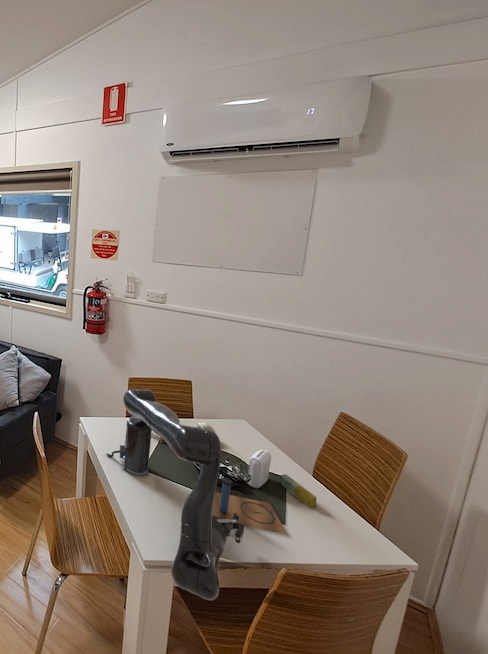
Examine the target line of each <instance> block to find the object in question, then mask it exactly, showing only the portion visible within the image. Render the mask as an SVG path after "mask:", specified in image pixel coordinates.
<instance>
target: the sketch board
mask: <svg viewBox="0 0 488 654" xmlns="http://www.w3.org/2000/svg"><path fill="white" fill-rule="evenodd" d="M246 496H248V497H249V498H247V497H242V496H238V495H233V494H230V497H229V504H228V511H227V513H226V514H224V513H222V512H220V509H219V506H220V499H221V492H219V491H215V497H214V502H213V509H212V511H213V513H214V516H215V517H218V518H221V519H229V520H232V518H233V515H234V513H236V514H237V516H239V522H238V523H239V524H243V525H244V527H249V528H252V529H253V528H254V529H258V530H262V531H268V532H271V533H275V534H280V535H284V536H288V535H289V534H288V532H287V530H286V529H285V527H284V525H283V523H282V522H281V520H280V518H279V516H278V515H277V513H276V511H275V509H274V507H273V506H272V504H271V503H270V502H268V501H262V500H257V499H254V498H252V497H251V496H250V495H249V494H246ZM243 502H253V503H257V504H259V505H261V506H263V507H265V508H266V509H268V510H269V511H270V512H271V513H272V514H273V516H274V518H275V520H274V523H271V524H263V523H269V522H272V521H273V517H272V515H271V513H270V512H269V511H267V510H266V509H265V508H263V507H261V506H259V505H257V504H253V503H244V504H243V505H242V509H243V511H244V513H246V514H247V515H248V516H249V517H250V518H252V519H254V520H256V521H258V522H263V523H258V522H256V521H254V520H252V519H250V518H249V517H248V516H246V515H245V514H244V513H243V512H242V510H241V508H240V506H241V504H242V503H243Z"/></svg>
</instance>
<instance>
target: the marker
mask: <svg viewBox="0 0 488 654" xmlns="http://www.w3.org/2000/svg"><path fill="white" fill-rule="evenodd" d="M232 483H233V481H232V479H230V478H228V477H223V478H222V484H221V492H220V493H221V499H220V506H219V509H220V512H222V513H224V514H226V513H227V511H228V504H229V497H230V495H231V488H232Z"/></svg>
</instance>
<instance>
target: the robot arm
mask: <svg viewBox="0 0 488 654" xmlns="http://www.w3.org/2000/svg"><path fill="white" fill-rule="evenodd" d="M122 400H123V405H124V407H125V409H126V411H127V412H128V413H129V414H130V415H132V416H130V417H128V418H127V420H126V426H125V427H126V428H125V439H124V442H123V443H124V445H122V444H119V450H114V451H112V452H111V454H110V453H106V456H107V457H109V458H112V457H114V454H119V459H122V466H123V471H126V472H128V473H130V474H132V475H135V476H145V475H147V474H148V473H149V465H150V461H151V460H150V452H151V443H152V442H151V441H152V432H153V433H155V434H156V435H157V436H158V437H159V438H160V437H161V438H162V439H163V440H162V441H163V442H165V444H166V445H167V446H168V448H169V450H171V451H172V453H173V454H174V455H175V456H176V457H177V458H178V459H180V460H181V461H184V462H186V463H187V462H188V463H193V464H198V465H200V473H199V476H198V480H197V481H196V483H195V485H194V486H193V489H191V491H190V493H189V494H188V496H187V498H186V499H185V501H184V503H183V505H182V509H181V512H180V513H181V514H180V536H179V543H178V547H177V551H176V553H175V556H174V558H173V561H172V565H171V570H170V571H171V578H172V579H173V582H174V583H175V585H176V586H177V587H178V588H180V589H182V590H184V591H187V592H189V593H191V594H193V595H196V596H198V597H200V598H202V599H204V600H207V601H214V600H216V599H217V598H218V596H219V593H220V581H219V576H218V575H219V574H218V564H219V560H220V557H221V556H222V554H223V553H224V550H225V549H224V548H225V545H226V541H227V538H228V537H230V538H233V539H234V541H235V543H237V544H240V543H241V541H242V538H243V536H244V533H245V526H244V525H243V524H239V523H238V522H239V516H237V514H236V513H234V515H233V518H232V520H229V519H221V518H218V517H216V516H215V514H213V502H214V497H215V492H217V487H218V486H217V485H218V480H219V473H220V467H221V464H222V463H221V461H222V443H221V439H220V437H219V435H218V434H217V433H216V431H215V432H213V431H211V430H208V429H203V428H196V426H191V425H184V424H181V422H180V419H179V416H178V415H177V413H176V412H175V411H174V410H172V409H171V408H169V407H168V406H166V405H165V404H163V403H160V402H157V401H156V400H157V399H156V396H155V393H154V392H153V391H152V390H151V389H135V388H133V389H127V390H126V391H125V392H124V394H123V399H122Z"/></svg>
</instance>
